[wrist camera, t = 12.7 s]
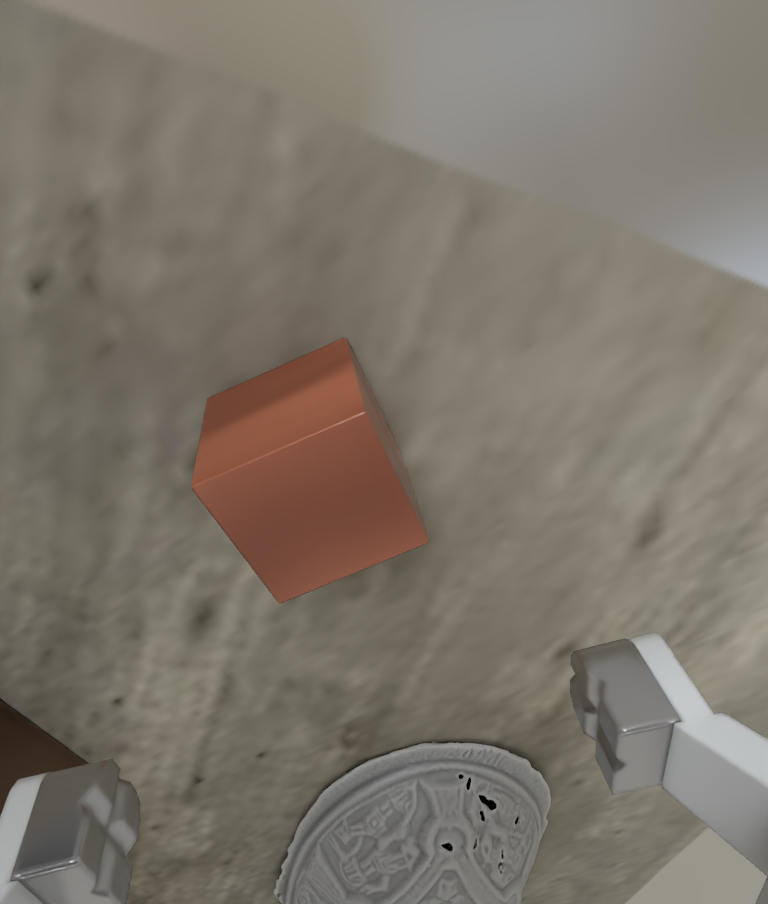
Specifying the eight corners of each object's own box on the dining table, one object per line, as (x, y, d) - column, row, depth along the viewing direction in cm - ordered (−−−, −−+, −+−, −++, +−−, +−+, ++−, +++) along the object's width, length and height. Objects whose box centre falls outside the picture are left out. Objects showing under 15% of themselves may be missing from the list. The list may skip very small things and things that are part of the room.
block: (206, 398, 18) (189, 487, 15) (345, 335, 18) (365, 411, 14) (277, 504, 21) (279, 604, 17) (400, 452, 21) (430, 542, 17)
